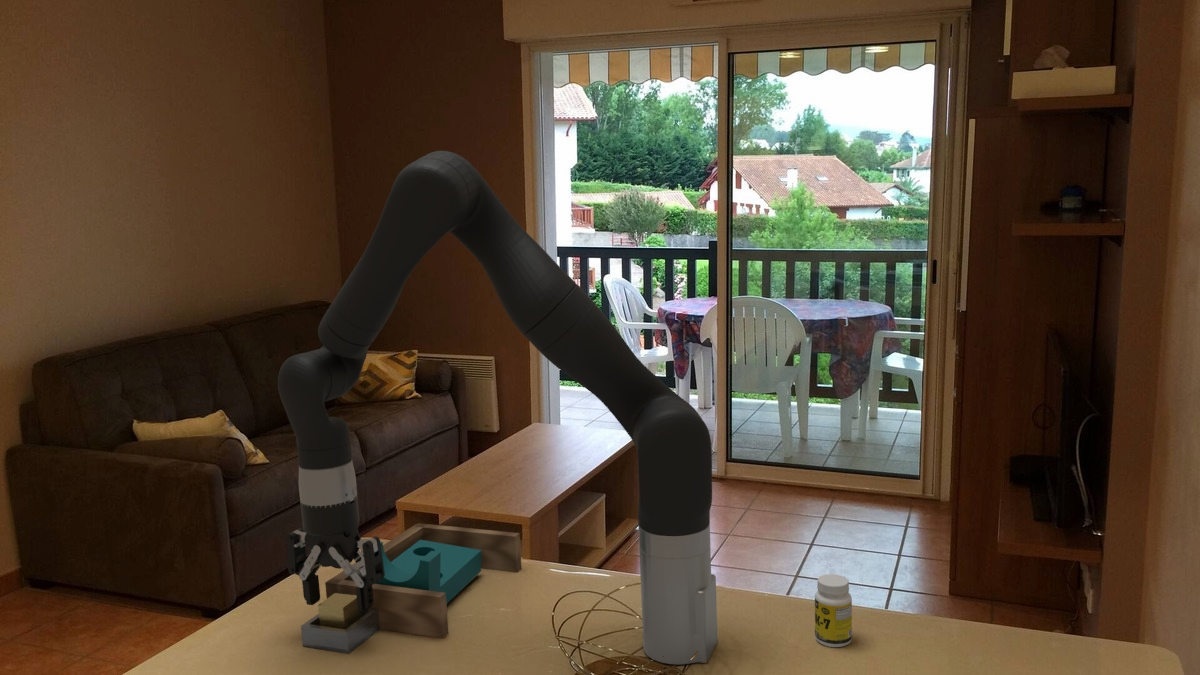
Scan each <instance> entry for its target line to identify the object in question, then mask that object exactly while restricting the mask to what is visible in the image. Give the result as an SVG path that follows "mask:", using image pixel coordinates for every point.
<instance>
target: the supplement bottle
mask: <svg viewBox="0 0 1200 675" xmlns="http://www.w3.org/2000/svg"><path fill="white" fill-rule="evenodd" d="M849 582H850V581H849V578H847V577H846V576H843V575H840V574H835V573H834V574H833V573H827V574H826V573H825V574H823V575H820V576H819V577H818V578H817V583H816V584H817V585H816V588H817V591H815V594H814V637H815V640H816V642H818V643H819V644H821V645H822V646H826V647H830V648H843V647H846V646H847V645H850V643H851V642H852V639H853V627H852V626H853V609H852V608H853V604H852V603H853V600H852V599H853V598H852V595H851V593H850V585H849V584H850V583H849Z"/></svg>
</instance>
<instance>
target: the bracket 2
mask: <svg viewBox="0 0 1200 675" xmlns="http://www.w3.org/2000/svg"><path fill="white" fill-rule="evenodd" d="M520 536H521V535H520V532H511V531H510V532H509V531H501V530H500V531H499V530H489V529H480V528H479V529H478V528H470V527H469V528H468V527H459V526H450V525H439V524H430V523H420V522H417V523H415V524H414V525H413V526H411V527H409V528H407V529H406V530H405V531H403V532H402V533H400V534H399V535H397V536H395V537H394V538H392V539H391V540H389V541H387V542H385V543H383V548H384V552H385V554H386V556H387V558H388V560H389V561H390V562H392V561H393V560H394V559H396V558H397V557H398V556H400V555H401V554H402V553H403V552H405V551H406V550H407V549H409V548H410V547H411V546H413V545H414V544H415V543H416V542H418V541H419V540H425V541H431V542H437V543H443V544H448V545H454V546H460V547H466V548H472V549H478V550H481V569H487V570H488V569H489V570H496V571H502V572H504V571H505V572H513V573H518V572H519V571H520V570H522V557H521V556H522V555H521V554H522V553H521V541H520V540H521V539H520V538H521V537H520ZM355 564H356V562H355V563H353V564H352V565H355ZM358 571H359V570H358ZM359 573H360V571H359ZM360 574H361V573H360ZM324 584H325V593H326V599H327V598H329V597H330V596H331V595H333V594H334V593H339V594H348V595H356V587H358V586H357V585H356V583H355V582H354V580H353V579H352V577H351V576H348V575H346V574H345V572H344V571H343V570H341V572H339V573H338V574H336V575H335V576H333V577H332V578H330V579H328V580H327V581H325V582H324ZM372 588H373V600H374V602H373V605H372V606H371V608H374V609H378V610H379V622H380V630H384V631H392V632H399V633H405V634H412V635H420V636H426V637H433V638H440V639H445V637H446V636H448V635H449V621H448V608H447V604H448V603H447V604H446V593H444V592H436V591H428V590H420V589H412V588H404V587H396V586H388V585H380V584H373V585H372Z"/></svg>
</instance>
